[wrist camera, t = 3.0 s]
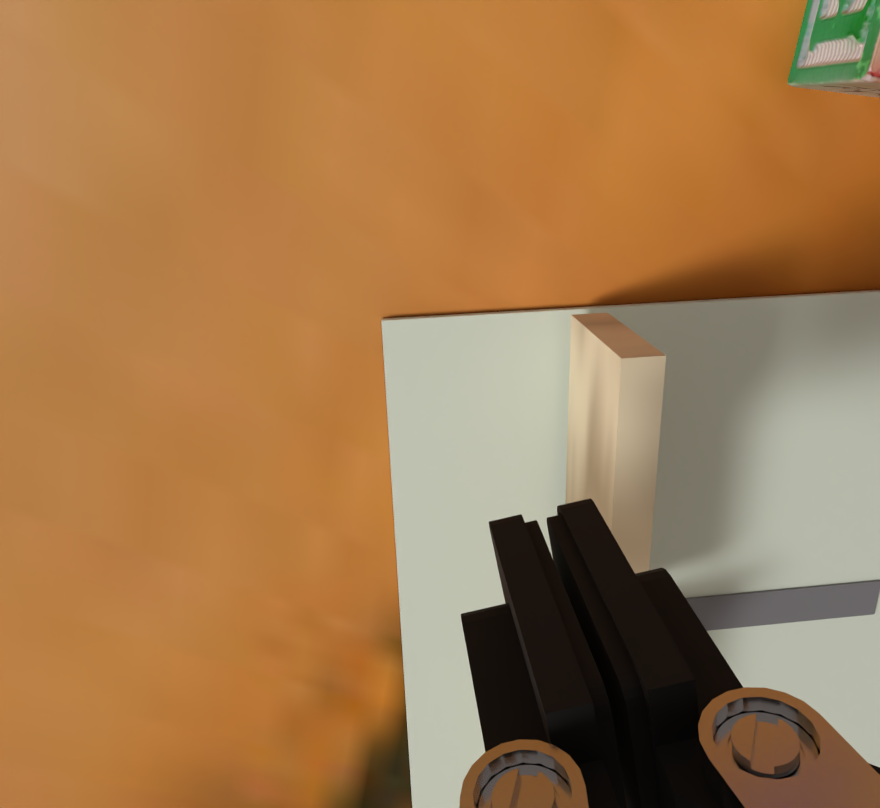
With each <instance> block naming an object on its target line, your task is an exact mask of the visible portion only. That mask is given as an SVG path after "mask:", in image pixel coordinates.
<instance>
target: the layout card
mask: <svg viewBox="0 0 880 808" xmlns="http://www.w3.org/2000/svg"><path fill="white" fill-rule="evenodd" d="M592 313H609V314H610V315H612V316H613V317H614V318H616V319H617V320H618V321H620V322H621V323H623V324H624V325H625V326H627V327H628V328H629V329H631V330H632V331H633V332H635V333H636V334H637V335H639V336H640V337H642V338H643V339H644V340H646V341H647V342H648V343H650V344H651V345H652V346H654V347H655V348H656V349H658V350H659V351H661V352H662V353H663V354H665V355H666V364H665V377H664V389H663V401H662V414H661V426H660V439H659V451H658V464H657V476H656V488H655V501H654V513H653V526H652V538H651V550H650V563H649V570H653V569H658V568H664V569H666V570H667V571H668V573H669V574H670V575H671V577H672V578H673V580H674V581H675V583H676V584H677V586H678V587H679V589H680V591H681V592H682V594H683V595H684V597H685V598H686V600H687V601H688V603H689V604H690V606H691V608H692V609H693V611H694V612H695V614H696V615H697V617H698V618H699V620H700V621H701V623H702V624H703V626H704V628H705V629H706V631H707V632H708V634H709V635H710V637H711V638H712V640H713V641H714V643H715V645H716V646H717V648H718V649H719V651H720V652H721V654H722V655H723V657H724V658H725V660H726V662H727V663H728V665H729V666H730V668H731V669H732V671H733V672H734V674H735V675H736V677H737V679H738V680H739V682H740V683H741V685H742V686H743V688H744V687H758V688H769V689H773V690H777V691H781V692H785V693H787V694H790V695H792V696H794V697H796V698H798V699H800V700H802V701H804V702H805V703H807V704H808V705H809V706H811V707H812V708H813V709H814V710H816V711H817V712H818V713H819V714H820V715H821V716H822V717H823V718H824V719H825V720H826V721H827V722H828V723H829V724H830V725H831V726H832V727H833V728H834V729H835V730H836V731H837V732H838V733H839V734H840V735H841V736H842V737H843V738H844V739H845V740H846V741H847V742H848V743H849V744H850V745H851V746H852V747H853V748H854V749H855V750H856V751H857V752H858V753H859V754H860V755H861V756H862V757H863V758H864V759H865V760H866V761H867V762H868V763H869V764H872V765H875V766H877V767H880V290H867V291H850V292H832V293H815V294H798V295H781V296H763V297H746V298H729V299H712V300H694V301H677V302H660V303H643V304H626V305H608V306H591V307H574V308H557V309H539V310H522V311H505V312H488V313H470V314H453V315H436V316H419V317H401V318H384V319H381V322H382V337H383V353H384V369H385V385H386V400H387V416H388V432H389V447H390V463H391V479H392V494H393V510H394V526H395V541H396V557H397V573H398V589H399V604H400V620H401V636H402V651H403V667H404V683H405V698H406V714H407V730H408V745H409V761H410V777H411V793H412V808H459V806H460V794H461V789H462V784H463V780H464V778H465V776H466V775H467V773H468V771H469V769H470V768H471V766H472V764H474V763H475V762H476V761H477V760H478V759H479V758H480V757H481V756H482V755H483V754H484V753H485V747H484V741H483V736H482V730H481V725H480V719H479V714H478V708H477V703H476V697H475V692H474V686H473V681H472V675H471V670H470V664H469V659H468V653H467V648H466V643H465V637H464V632H463V626H462V620H461V614H462V613H467V612H471V611H475V610H480V609H484V608H488V607H493V606H497V605H501V604H505V599H504V594H503V590H502V585H501V580H500V576H499V571H498V566H497V561H496V557H495V552H494V547H493V543H492V538H491V533H490V528H489V521H493V520H498V519H502V518H507V517H511V516H515V515H520V514H521V515H522V516H523V519H524V521H525V522H530V521H534V520H537V522H538V524H539V526H540V529H541V531H542V534H543V536H544V538H545V541H546V543H547V546H548V548H549V551H550V553H551V556H552V550H551V544H550V539H549V533H548V527H547V517H552V516H556V515H557V506H559V505H563V504H565V499H566V467H567V436H568V404H569V372H570V340H571V315H575V314H592ZM552 558H553V556H552Z"/></svg>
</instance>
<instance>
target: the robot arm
mask: <svg viewBox="0 0 880 808" xmlns="http://www.w3.org/2000/svg"><path fill="white" fill-rule="evenodd" d="M547 527H548V533H549V539H550V544H551V550H552V556H553V558H552V556H551V553H550V551H549V548H548V546H547V543H546V541H545V538H544V536H543V534H542V531H541V529H540V526H539V524H538V522H537V520H534V521H530V522H525V521H524V519H523V516H522V515H521V514H520V515H515V516H511V517H507V518H502V519H498V520H493V521H489V528H490V533H491V538H492V543H493V547H494V552H495V557H496V561H497V566H498V571H499V576H500V580H501V585H502V590H503V594H504V599H505V604H501V605H497V606H493V607H488V608H484V609H480V610H475V611H471V612H467V613H462V614H461V620H462V626H463V632H464V637H465V643H466V648H467V653H468V659H469V664H470V670H471V675H472V681H473V686H474V692H475V697H476V703H477V708H478V714H479V719H480V725H481V730H482V736H483V741H484V747H485V753H484V754H483V755H482V756H481V757H480V758H479V759H478V760H477V761H476V762H475V763H474V764H472V766H471V768H470V769H469V771H468V773H467V775H466V776H465V778H464V780H463V784H462V789H461V794H460V806H459V808H880V767H877V766H875V765H872V764H869V763H868V762H867V761H866V760H865V759H864V758H863V757H862V756H861V755H860V754H859V753H858V752H857V751H856V750H855V749H854V748H853V747H852V746H851V745H850V744H849V743H848V742H847V741H846V740H845V739H844V738H843V737H842V736H841V735H840V734H839V733H838V732H837V731H836V730H835V729H834V728H833V727H832V726H831V725H830V724H829V723H828V722H827V721H826V720H825V719H824V718H823V717H822V716H821V715H820V714H819V713H818V712H817V711H816V710H814V709H813V708H812V707H811V706H809V705H808V704H807V703H805V702H804V701H802V700H800V699H798V698H796V697H794V696H792V695H790V694H787V693H785V692H781V691H777V690H773V689H769V688H758V687H744V688H743V686H742V685H741V683H740V682H739V680H738V679H737V677H736V675H735V674H734V672H733V671H732V669H731V668H730V666H729V665H728V663H727V662H726V660H725V658H724V657H723V655H722V654H721V652H720V651H719V649H718V648H717V646H716V645H715V643H714V641H713V640H712V638H711V637H710V635H709V634H708V632H707V631H706V629H705V628H704V626H703V624H702V623H701V621H700V620H699V618H698V617H697V615H696V614H695V612H694V611H693V609H692V608H691V606H690V604H689V603H688V601H687V600H686V598H685V597H684V595H683V594H682V592H681V591H680V589H679V587H678V586H677V584H676V583H675V581H674V580H673V578H672V577H671V575H670V574H669V573H668V571H667V570H666V569H664V568H658V569H653V570H649V571H645V572H640V573H636V574H635V573H634V571H633V569H632V567H631V566H630V564H629V562H628V561H627V559H626V557H625V555H624V554H623V552H622V550H621V548H620V547H619V545H618V543H617V541H616V540H615V538H614V536H613V534H612V533H611V531H610V529H609V527H608V526H607V524H606V522H605V520H604V519H603V517H602V515H601V513H600V512H599V510H598V508H597V506H596V505H595V503H594V501H593V500H592V499H591V498H589V499H585V500H581V501H576V502H572V503H568V504H563V505H559V506H557V515H556V516H552V517H547Z"/></svg>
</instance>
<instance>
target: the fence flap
mask: <svg viewBox="0 0 880 808" xmlns="http://www.w3.org/2000/svg"><path fill="white" fill-rule="evenodd" d="M665 364H666V355H665V354H663V353H662V352H661V351H659V350H658V349H656V348H655V347H654V346H652V345H651V344H650V343H648V342H647V341H646V340H644V339H643V338H642V337H640V336H639V335H637V334H636V333H635V332H633V331H632V330H631V329H629V328H628V327H627V326H625V325H624V324H623V323H621V322H620V321H618V320H617V319H616V318H614V317H613V316H612V315H610V314H609V313H592V314H575V315H571V340H570V372H569V404H568V436H567V467H566V499H565V504H568V503H572V502H576V501H581V500H585V499H589V498H591V499H592V500H593V501H594V503H595V505H596V506H597V508H598V510H599V512H600V513H601V515H602V517H603V519H604V520H605V522H606V524H607V526H608V527H609V529H610V531H611V533H612V534H613V536H614V538H615V540H616V541H617V543H618V545H619V547H620V548H621V550H622V552H623V554H624V555H625V557H626V559H627V561H628V562H629V564H630V566H631V567H632V569H633V571H634V573H635V574H636V573H640V572H645V571H649V563H650V550H651V538H652V526H653V513H654V501H655V488H656V476H657V464H658V451H659V439H660V426H661V414H662V401H663V389H664V377H665Z"/></svg>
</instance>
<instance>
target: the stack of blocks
mask: <svg viewBox="0 0 880 808" xmlns="http://www.w3.org/2000/svg"><path fill="white" fill-rule="evenodd" d="M788 85H790V86H792V87H799V88H807V89H815V90H823V91H831V92H839V93H847V94H855V95H862V96H870V97H878V98H880V0H808V2H807V6H806V10H805V14H804V18H803V22H802V26H801V30H800V34H799V38H798V43H797V47H796V51H795V56H794V60H793V63H792V67H791V70H790V74H789V78H788Z"/></svg>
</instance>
